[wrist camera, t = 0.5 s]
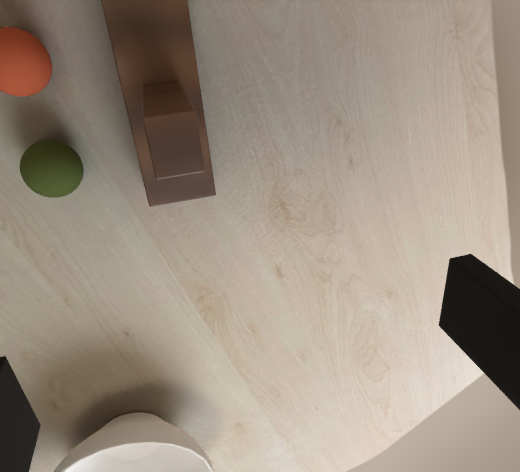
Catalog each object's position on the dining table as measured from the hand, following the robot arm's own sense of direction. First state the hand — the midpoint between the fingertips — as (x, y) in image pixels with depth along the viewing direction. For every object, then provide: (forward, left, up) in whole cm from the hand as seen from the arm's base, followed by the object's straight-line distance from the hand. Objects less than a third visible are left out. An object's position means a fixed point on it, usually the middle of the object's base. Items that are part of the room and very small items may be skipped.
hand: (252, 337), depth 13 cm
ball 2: (0, -10, -22) cm, 24 cm away
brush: (-3, -1, -24) cm, 24 cm away
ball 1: (-7, -10, -22) cm, 25 cm away
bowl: (+32, -11, -24) cm, 41 cm away
